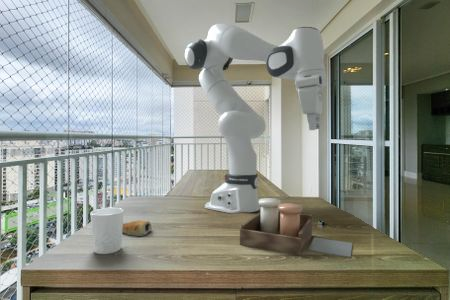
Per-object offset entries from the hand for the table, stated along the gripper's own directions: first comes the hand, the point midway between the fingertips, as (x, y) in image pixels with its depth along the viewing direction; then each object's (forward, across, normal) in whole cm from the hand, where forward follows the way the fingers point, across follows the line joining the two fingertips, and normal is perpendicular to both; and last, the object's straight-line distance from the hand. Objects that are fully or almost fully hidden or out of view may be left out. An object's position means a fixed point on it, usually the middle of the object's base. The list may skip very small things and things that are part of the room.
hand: (314, 129), depth 88 cm
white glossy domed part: (+29, +9, -14) cm, 34 cm away
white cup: (+25, +36, -50) cm, 67 cm away
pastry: (+26, +23, -52) cm, 62 cm away
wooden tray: (+30, +13, -11) cm, 34 cm away
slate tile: (+31, +12, +3) cm, 34 cm away
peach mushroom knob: (+30, +14, -8) cm, 33 cm away
